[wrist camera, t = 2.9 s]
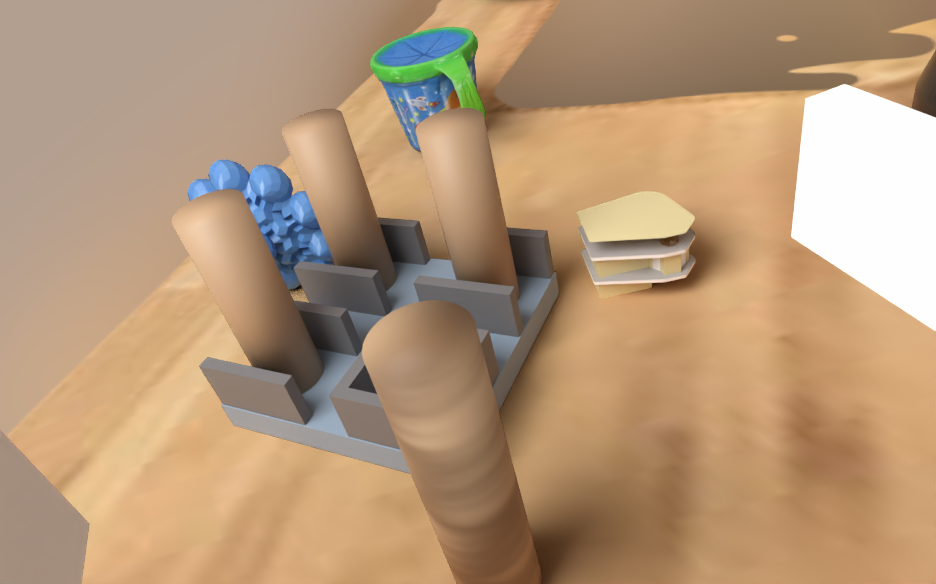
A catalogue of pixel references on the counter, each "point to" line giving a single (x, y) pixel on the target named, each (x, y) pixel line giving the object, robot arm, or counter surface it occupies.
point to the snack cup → (428, 75)
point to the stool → (363, 284)
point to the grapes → (273, 213)
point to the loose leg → (453, 439)
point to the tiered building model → (636, 242)
